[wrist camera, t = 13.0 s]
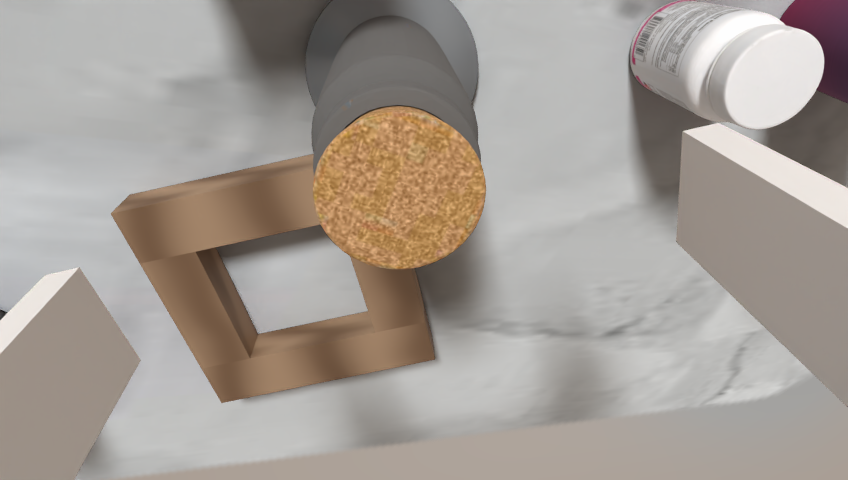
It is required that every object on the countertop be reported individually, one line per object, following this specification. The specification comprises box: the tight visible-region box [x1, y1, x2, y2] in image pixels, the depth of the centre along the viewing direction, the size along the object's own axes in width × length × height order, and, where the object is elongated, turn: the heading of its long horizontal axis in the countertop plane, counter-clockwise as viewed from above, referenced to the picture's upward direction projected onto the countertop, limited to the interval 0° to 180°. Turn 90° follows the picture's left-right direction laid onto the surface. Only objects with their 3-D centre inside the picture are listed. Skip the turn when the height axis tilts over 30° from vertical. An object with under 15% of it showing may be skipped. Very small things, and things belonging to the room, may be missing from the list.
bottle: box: [312, 15, 486, 269], centre depth 20 cm, size 6×6×15 cm
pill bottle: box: [630, 0, 824, 130], centre depth 24 cm, size 5×5×8 cm
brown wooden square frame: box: [111, 154, 435, 403], centre depth 32 cm, size 15×15×2 cm
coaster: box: [305, 0, 478, 106], centre depth 27 cm, size 9×9×1 cm
